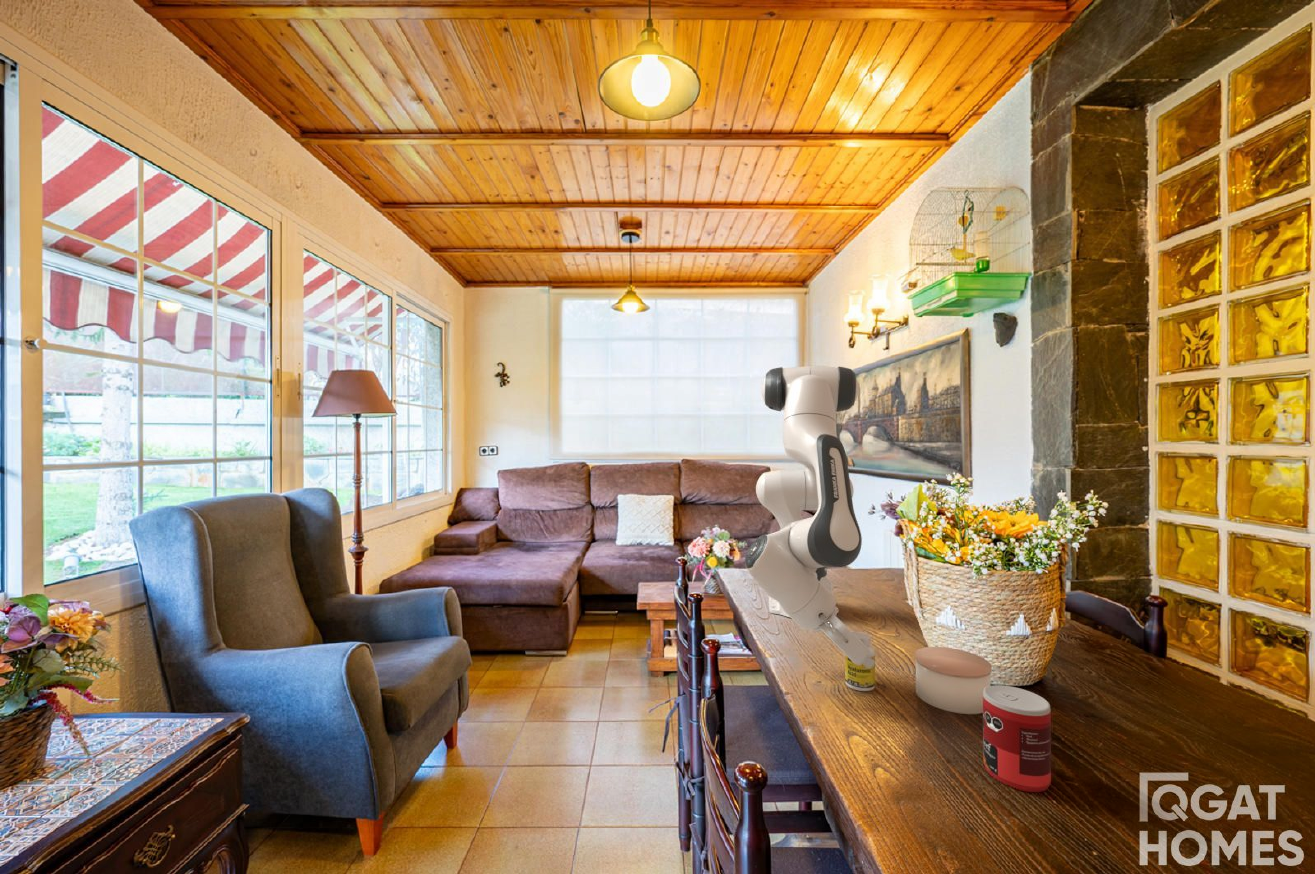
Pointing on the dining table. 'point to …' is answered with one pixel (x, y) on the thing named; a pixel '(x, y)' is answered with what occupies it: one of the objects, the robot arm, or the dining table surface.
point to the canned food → (1017, 737)
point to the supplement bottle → (861, 668)
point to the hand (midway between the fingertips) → (863, 657)
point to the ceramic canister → (952, 679)
